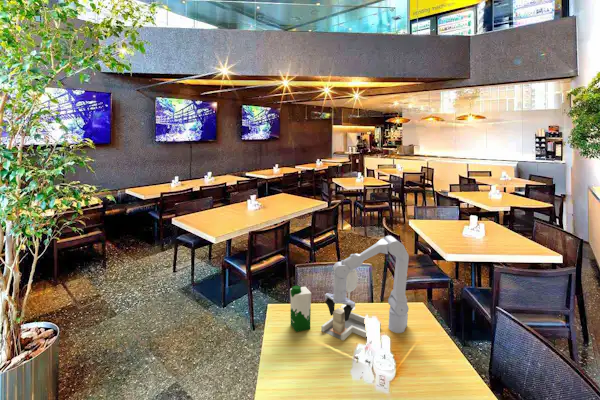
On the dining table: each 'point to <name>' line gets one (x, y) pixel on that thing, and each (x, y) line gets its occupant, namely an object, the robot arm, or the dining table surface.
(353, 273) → the wineglass
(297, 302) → the milk carton
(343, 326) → the peg
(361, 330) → the walled channel course
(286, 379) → the dining table surface
